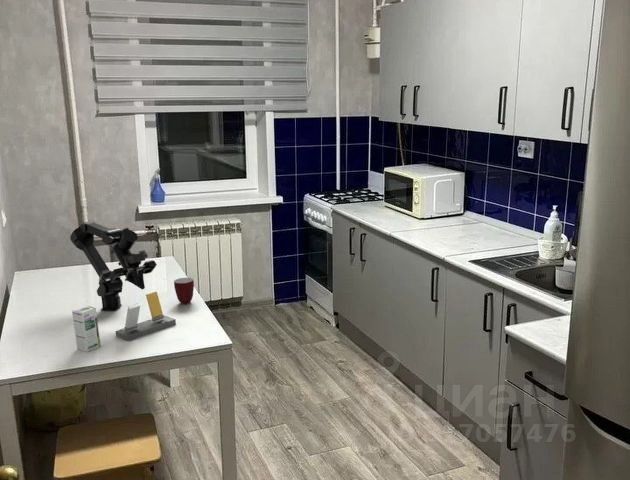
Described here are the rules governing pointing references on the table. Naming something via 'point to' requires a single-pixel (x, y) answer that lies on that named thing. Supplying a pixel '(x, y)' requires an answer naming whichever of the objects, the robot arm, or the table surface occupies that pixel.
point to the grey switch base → (145, 328)
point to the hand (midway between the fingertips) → (143, 288)
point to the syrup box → (86, 328)
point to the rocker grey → (132, 317)
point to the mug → (184, 289)
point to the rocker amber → (154, 306)
